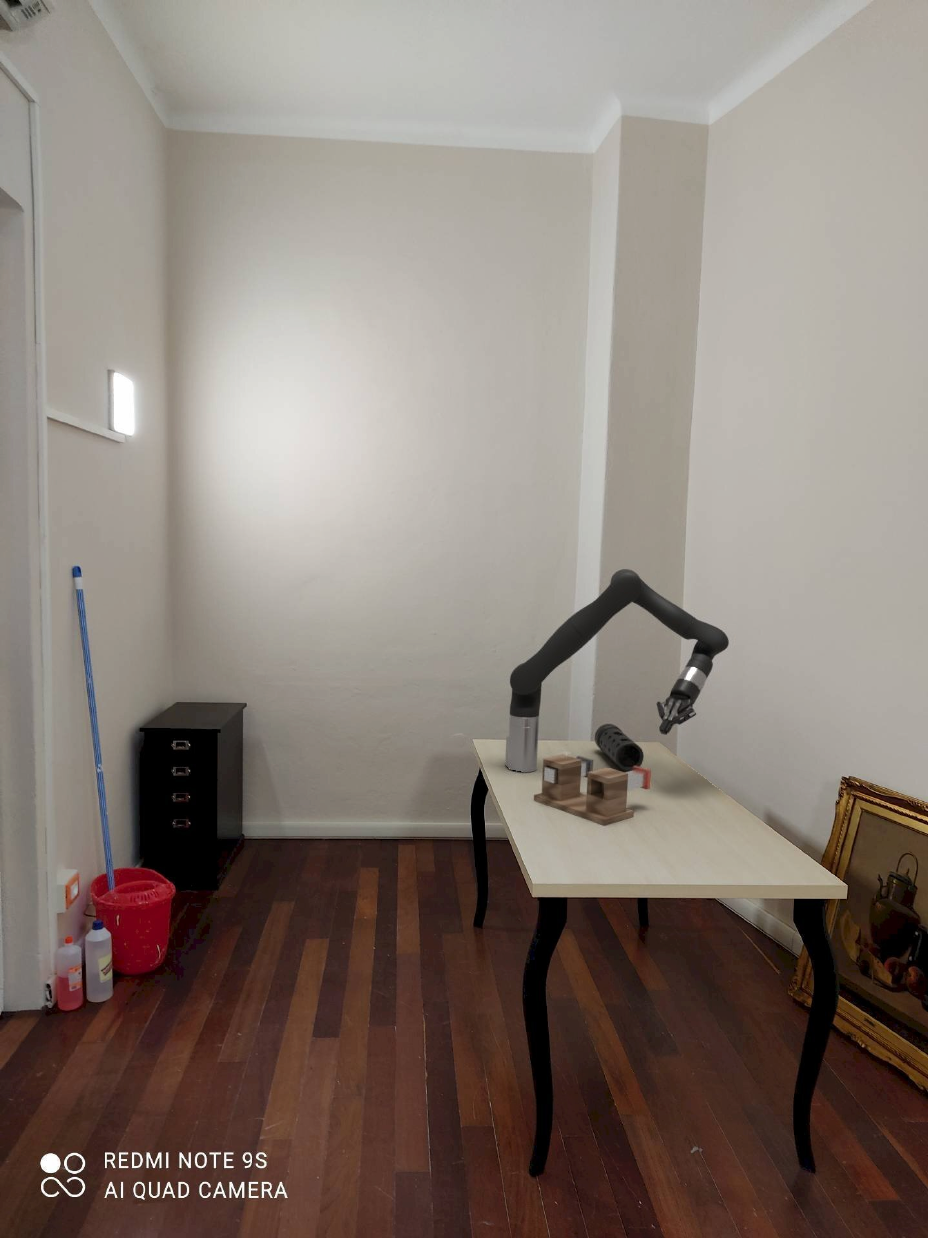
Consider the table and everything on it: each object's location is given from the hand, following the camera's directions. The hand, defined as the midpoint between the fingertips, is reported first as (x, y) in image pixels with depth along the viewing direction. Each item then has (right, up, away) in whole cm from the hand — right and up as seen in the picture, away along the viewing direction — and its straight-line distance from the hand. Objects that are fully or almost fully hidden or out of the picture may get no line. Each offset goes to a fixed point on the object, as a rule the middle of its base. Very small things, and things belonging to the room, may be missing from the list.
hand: (662, 732), depth 241 cm
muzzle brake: (-7, -15, +37) cm, 40 cm away
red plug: (-13, -14, -14) cm, 24 cm away
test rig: (-25, -19, -12) cm, 33 cm away
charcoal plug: (-28, -13, -5) cm, 31 cm away
